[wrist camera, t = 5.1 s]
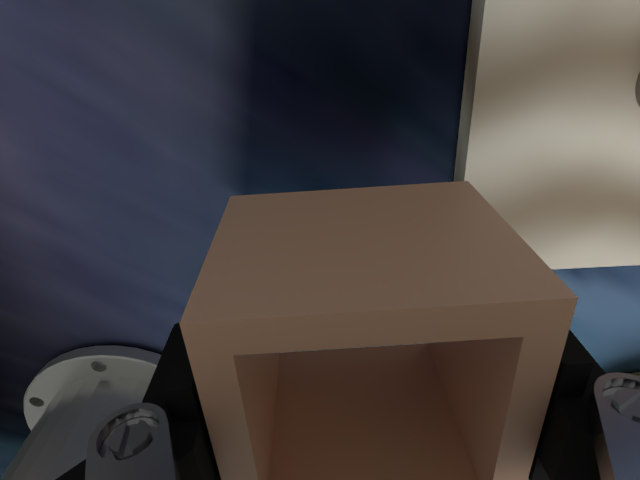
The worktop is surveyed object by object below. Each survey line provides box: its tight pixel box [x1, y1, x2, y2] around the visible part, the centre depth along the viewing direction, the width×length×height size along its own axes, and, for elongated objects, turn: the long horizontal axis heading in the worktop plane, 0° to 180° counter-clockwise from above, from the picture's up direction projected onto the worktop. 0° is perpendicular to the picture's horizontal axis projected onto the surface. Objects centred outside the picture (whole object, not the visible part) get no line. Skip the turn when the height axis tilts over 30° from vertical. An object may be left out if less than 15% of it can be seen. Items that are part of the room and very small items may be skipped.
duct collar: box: [179, 181, 578, 480], centre depth 10 cm, size 6×6×5 cm
